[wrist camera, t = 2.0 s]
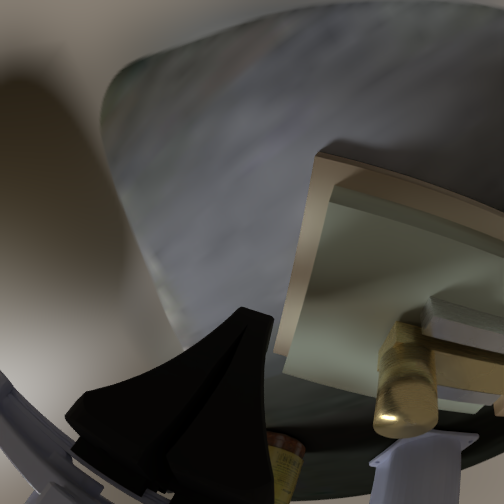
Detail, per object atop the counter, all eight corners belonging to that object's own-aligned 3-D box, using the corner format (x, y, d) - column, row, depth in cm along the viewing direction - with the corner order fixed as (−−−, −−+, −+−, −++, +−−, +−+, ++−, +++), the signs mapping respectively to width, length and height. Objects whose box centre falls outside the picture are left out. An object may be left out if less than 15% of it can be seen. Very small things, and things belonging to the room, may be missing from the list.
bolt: (501, 380, 11) (511, 446, 7) (372, 352, 12) (362, 432, 9) (527, 349, 9) (545, 418, 6) (393, 315, 11) (391, 402, 8)
